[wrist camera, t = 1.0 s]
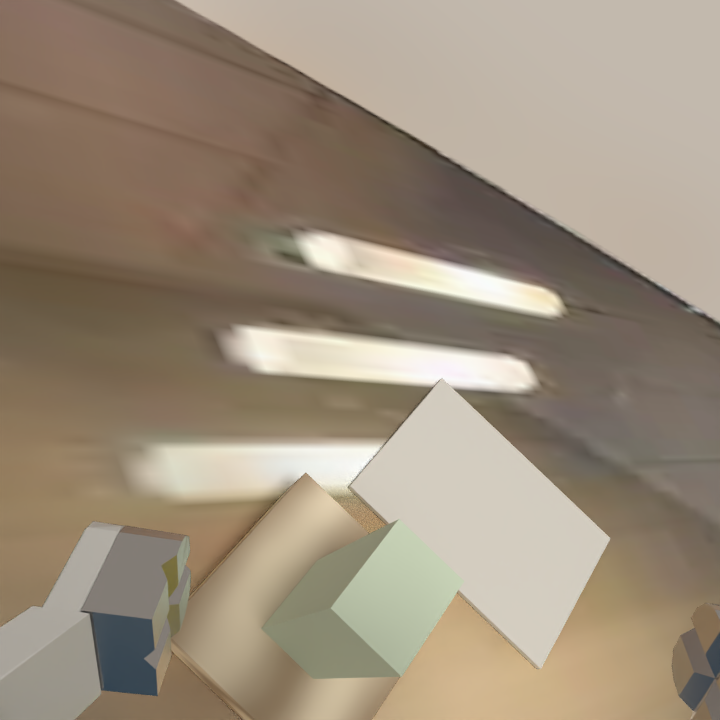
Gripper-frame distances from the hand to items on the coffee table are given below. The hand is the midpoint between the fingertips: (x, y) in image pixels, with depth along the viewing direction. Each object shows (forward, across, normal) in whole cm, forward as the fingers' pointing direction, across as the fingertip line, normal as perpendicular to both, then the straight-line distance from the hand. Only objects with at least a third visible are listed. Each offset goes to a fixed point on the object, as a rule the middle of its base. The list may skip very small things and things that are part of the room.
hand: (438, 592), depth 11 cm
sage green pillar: (+18, +2, +25) cm, 31 cm away
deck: (+20, +3, +28) cm, 35 cm away
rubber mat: (+30, -9, +27) cm, 41 cm away
